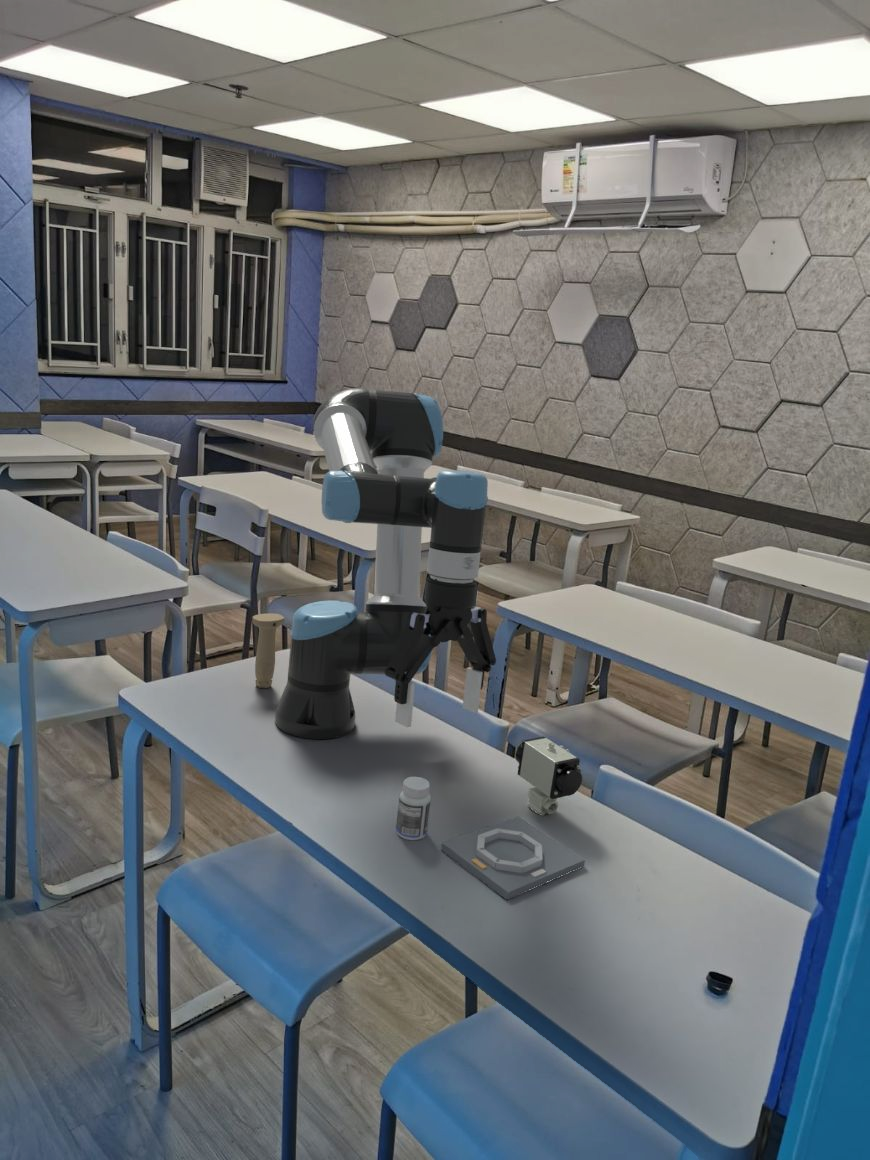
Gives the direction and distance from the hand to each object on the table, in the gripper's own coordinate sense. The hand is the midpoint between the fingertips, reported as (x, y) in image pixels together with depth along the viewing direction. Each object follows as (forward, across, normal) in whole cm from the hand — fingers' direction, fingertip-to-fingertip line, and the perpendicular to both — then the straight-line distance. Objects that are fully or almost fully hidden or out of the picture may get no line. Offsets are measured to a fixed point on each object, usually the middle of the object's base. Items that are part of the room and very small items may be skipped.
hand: (437, 717), depth 131 cm
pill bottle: (+18, -3, 0) cm, 19 cm away
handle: (+14, +7, +60) cm, 62 cm away
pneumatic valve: (+18, +21, -5) cm, 28 cm away
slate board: (+19, +6, -13) cm, 23 cm away
